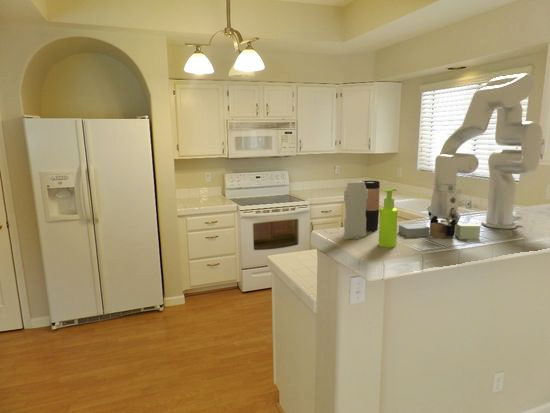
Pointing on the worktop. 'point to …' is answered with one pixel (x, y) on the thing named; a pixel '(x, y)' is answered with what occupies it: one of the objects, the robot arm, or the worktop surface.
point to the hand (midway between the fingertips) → (441, 232)
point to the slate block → (414, 230)
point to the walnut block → (438, 230)
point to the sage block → (467, 231)
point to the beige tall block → (355, 210)
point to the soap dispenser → (388, 222)
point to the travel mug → (372, 205)
